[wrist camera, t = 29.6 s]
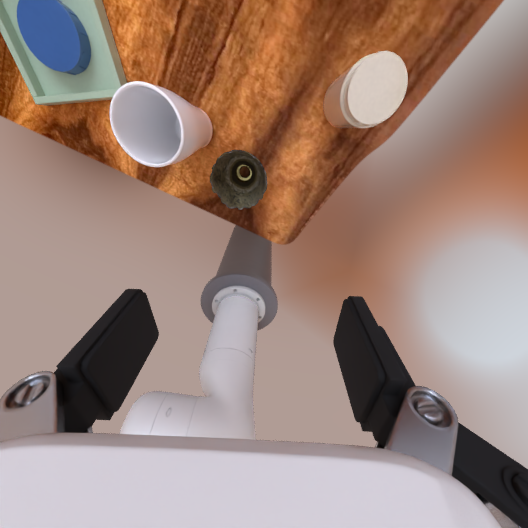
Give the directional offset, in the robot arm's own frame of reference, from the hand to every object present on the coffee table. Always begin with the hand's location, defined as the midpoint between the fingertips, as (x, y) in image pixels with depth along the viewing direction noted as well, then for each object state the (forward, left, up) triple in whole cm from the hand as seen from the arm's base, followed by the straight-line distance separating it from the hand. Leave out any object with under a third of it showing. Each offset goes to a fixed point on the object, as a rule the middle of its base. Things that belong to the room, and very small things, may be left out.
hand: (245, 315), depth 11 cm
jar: (+10, -12, -30) cm, 34 cm away
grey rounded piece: (+2, +3, -31) cm, 31 cm away
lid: (+19, +24, -28) cm, 42 cm away
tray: (+19, +24, -30) cm, 43 cm away
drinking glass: (+8, +10, -31) cm, 33 cm away
